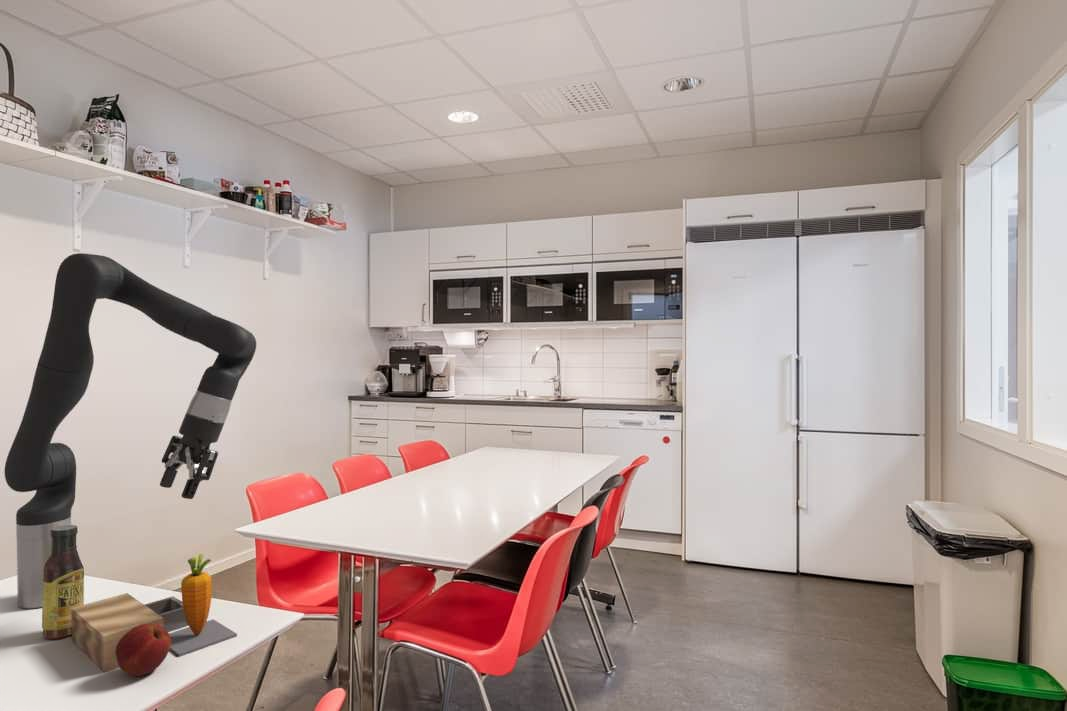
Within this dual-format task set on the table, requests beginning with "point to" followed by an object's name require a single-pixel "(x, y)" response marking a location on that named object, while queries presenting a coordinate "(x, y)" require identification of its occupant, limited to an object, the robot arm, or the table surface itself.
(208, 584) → the carrot
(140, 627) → the apple
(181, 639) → the rubber mat
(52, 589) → the sauce bottle
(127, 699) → the table surface
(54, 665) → the table surface
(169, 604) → the wooden drawer box
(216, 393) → the robot arm
